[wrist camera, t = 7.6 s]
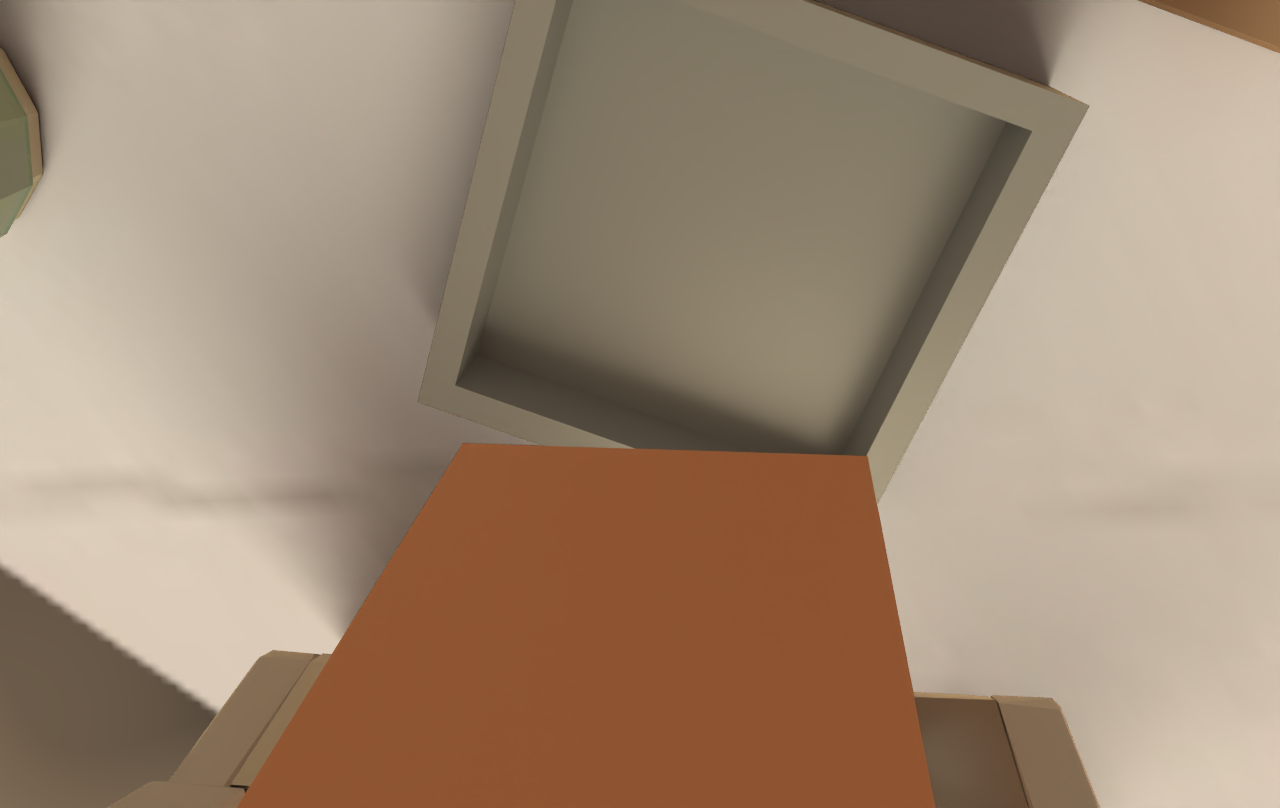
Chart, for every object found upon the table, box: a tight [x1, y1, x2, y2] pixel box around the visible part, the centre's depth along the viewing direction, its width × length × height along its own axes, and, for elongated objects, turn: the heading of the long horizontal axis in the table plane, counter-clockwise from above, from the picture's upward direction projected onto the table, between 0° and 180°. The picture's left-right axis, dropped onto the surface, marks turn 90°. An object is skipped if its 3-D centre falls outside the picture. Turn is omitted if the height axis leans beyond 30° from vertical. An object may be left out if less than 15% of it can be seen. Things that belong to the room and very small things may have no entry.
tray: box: [418, 0, 1089, 504], centre depth 23 cm, size 12×12×3 cm
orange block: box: [237, 443, 935, 808], centre depth 8 cm, size 4×4×5 cm
